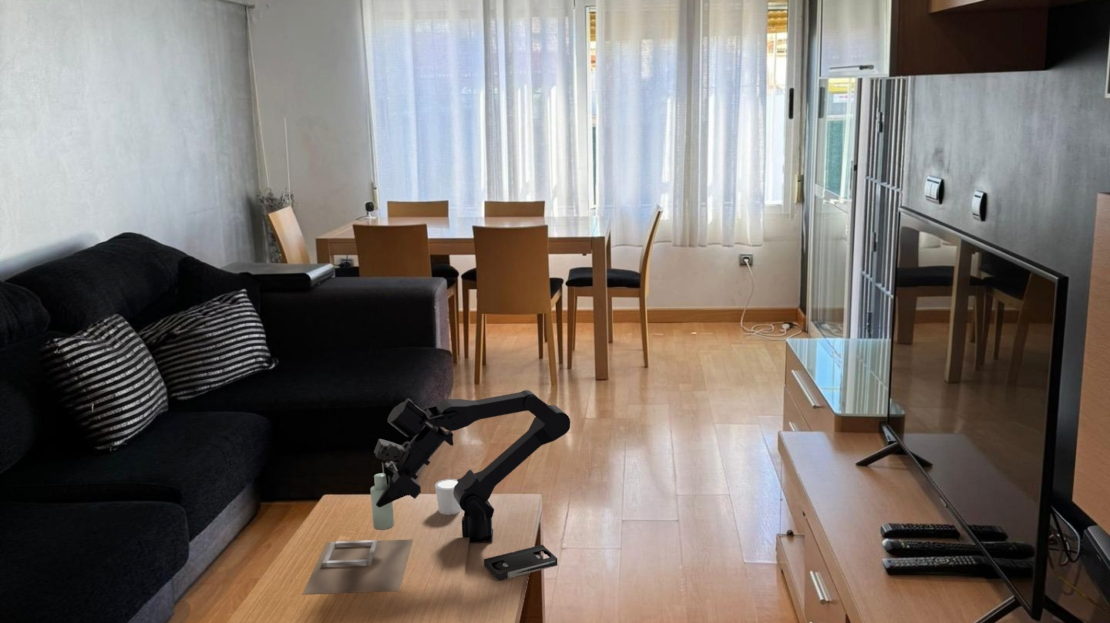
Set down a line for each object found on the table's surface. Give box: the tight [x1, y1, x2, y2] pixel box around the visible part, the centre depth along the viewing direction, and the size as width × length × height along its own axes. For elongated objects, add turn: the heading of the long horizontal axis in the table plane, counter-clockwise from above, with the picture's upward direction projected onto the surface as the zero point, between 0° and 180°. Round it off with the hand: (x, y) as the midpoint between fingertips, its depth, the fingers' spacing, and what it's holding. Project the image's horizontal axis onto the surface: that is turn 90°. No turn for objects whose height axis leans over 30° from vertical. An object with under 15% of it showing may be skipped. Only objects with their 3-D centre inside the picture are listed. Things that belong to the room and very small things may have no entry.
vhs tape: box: [483, 544, 559, 582], centre depth 216 cm, size 14×8×2 cm, turn 116°
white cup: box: [434, 478, 463, 516], centre depth 245 cm, size 7×7×7 cm
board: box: [301, 538, 414, 596], centre depth 216 cm, size 20×24×2 cm
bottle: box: [370, 472, 395, 531], centre depth 220 cm, size 5×5×12 cm
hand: (375, 501), depth 220 cm, fingers closed on bottle, 5 cm apart
